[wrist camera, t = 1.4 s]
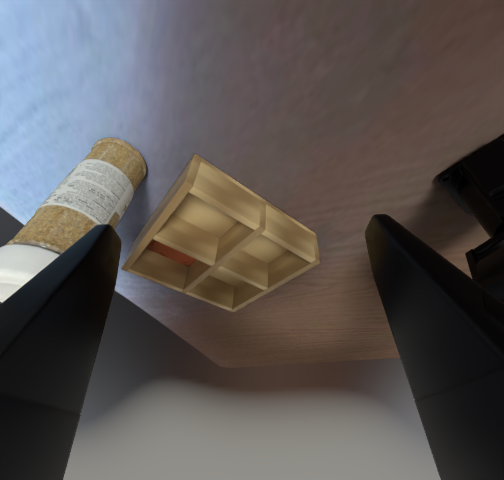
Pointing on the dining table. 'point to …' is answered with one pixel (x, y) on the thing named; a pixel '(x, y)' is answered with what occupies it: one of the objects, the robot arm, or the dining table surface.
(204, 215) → the grid
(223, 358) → the dining table surface
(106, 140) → the sprinkles bottle
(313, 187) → the dining table surface
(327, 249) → the dining table surface
